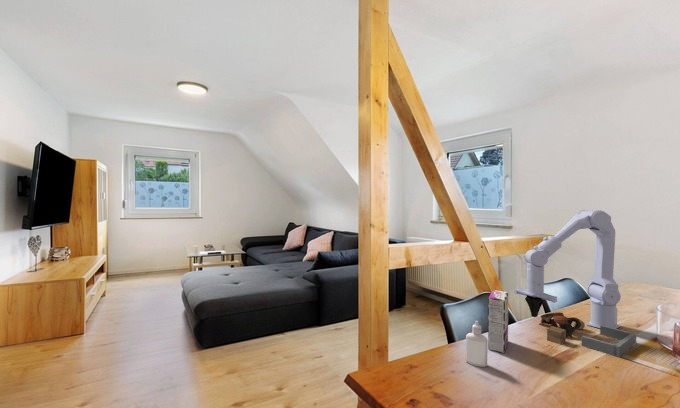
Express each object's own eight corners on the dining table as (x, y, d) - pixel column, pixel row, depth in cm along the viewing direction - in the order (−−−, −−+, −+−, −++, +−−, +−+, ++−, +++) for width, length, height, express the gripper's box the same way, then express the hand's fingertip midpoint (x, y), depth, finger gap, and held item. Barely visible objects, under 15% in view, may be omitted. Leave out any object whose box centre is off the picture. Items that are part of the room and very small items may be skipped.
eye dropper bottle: (479, 369, 89) (480, 325, 89) (462, 360, 94) (463, 319, 94) (489, 366, 91) (490, 323, 91) (473, 357, 96) (474, 316, 96)
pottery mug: (548, 338, 113) (539, 313, 117) (544, 341, 120) (536, 317, 124) (588, 334, 109) (578, 308, 113) (582, 337, 116) (572, 313, 121)
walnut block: (552, 337, 112) (552, 326, 112) (565, 342, 109) (565, 330, 109) (547, 340, 109) (547, 328, 109) (560, 344, 106) (560, 332, 106)
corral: (601, 333, 116) (601, 325, 116) (636, 343, 108) (636, 333, 108) (581, 345, 106) (581, 336, 106) (618, 357, 98) (618, 347, 98)
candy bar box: (491, 337, 111) (492, 289, 111) (508, 341, 108) (509, 291, 108) (486, 349, 101) (487, 297, 101) (504, 354, 99) (505, 299, 99)
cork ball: (574, 326, 122) (575, 316, 122) (586, 329, 120) (586, 319, 120) (570, 328, 120) (571, 318, 120) (582, 331, 117) (582, 321, 117)
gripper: (510, 278, 129) (510, 312, 129) (551, 286, 118) (550, 324, 118) (519, 276, 134) (519, 309, 134) (559, 284, 122) (559, 320, 122)
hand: (534, 316), depth 126 cm, fingers closed
